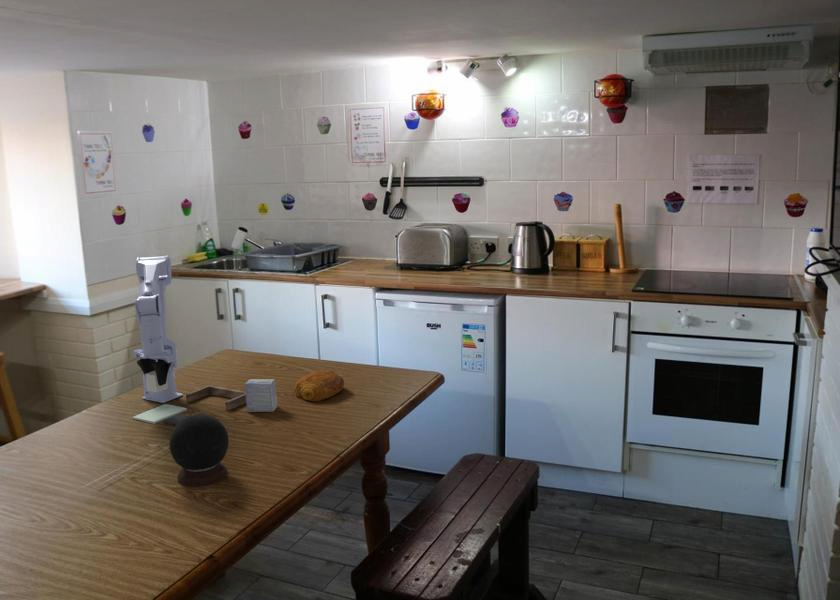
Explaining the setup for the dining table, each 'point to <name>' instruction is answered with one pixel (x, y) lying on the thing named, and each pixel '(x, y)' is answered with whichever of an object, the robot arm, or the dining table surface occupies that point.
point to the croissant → (318, 385)
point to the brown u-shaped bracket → (236, 395)
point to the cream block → (154, 383)
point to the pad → (159, 413)
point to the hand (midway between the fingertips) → (156, 383)
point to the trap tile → (175, 419)
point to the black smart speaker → (199, 450)
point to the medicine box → (261, 395)
